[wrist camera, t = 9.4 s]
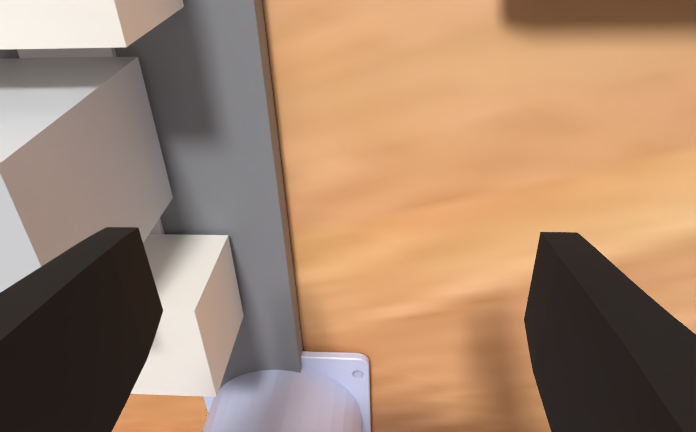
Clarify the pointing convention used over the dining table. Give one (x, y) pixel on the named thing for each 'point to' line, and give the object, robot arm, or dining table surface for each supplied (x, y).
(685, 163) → the dining table surface
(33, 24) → the mounted modules
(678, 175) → the dining table surface
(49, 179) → the block
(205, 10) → the rail board
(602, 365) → the robot arm
